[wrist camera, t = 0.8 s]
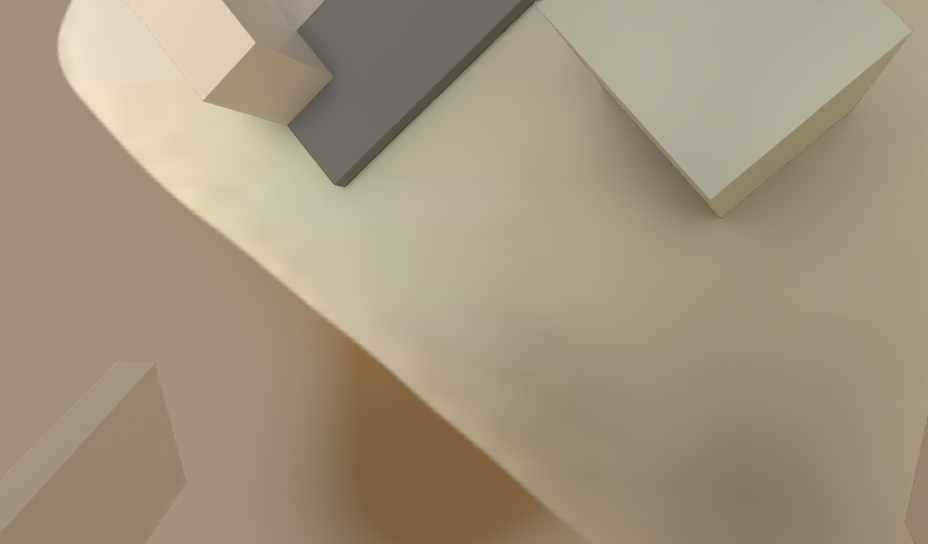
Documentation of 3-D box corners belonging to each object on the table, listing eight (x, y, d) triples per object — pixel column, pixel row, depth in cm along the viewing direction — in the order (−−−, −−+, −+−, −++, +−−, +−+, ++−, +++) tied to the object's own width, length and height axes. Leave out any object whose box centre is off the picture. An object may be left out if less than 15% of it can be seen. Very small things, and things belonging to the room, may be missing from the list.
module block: (717, -32, 31) (705, -174, 21) (853, 108, 30) (913, 30, 20) (596, 80, 33) (529, -2, 22) (720, 218, 32) (710, 199, 21)
